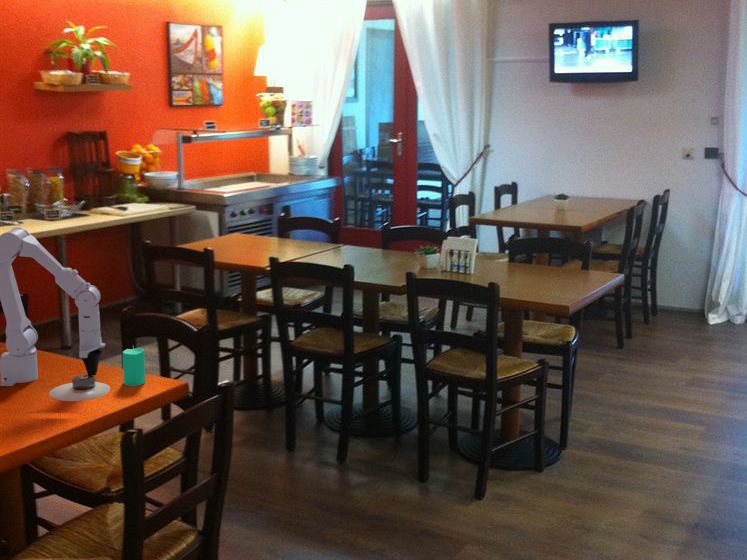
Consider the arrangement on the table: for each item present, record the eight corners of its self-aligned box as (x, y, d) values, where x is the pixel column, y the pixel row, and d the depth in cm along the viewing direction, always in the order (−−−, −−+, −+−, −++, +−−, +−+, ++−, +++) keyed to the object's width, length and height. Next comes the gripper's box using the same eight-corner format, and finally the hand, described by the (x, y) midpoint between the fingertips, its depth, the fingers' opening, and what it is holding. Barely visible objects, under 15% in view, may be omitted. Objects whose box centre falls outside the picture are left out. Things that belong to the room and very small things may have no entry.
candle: (148, 383, 258) (147, 343, 255) (141, 390, 252) (139, 349, 249) (128, 382, 258) (126, 342, 256) (120, 389, 253) (118, 348, 250)
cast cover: (69, 390, 248) (69, 379, 247) (76, 383, 253) (76, 372, 253) (91, 390, 248) (90, 380, 247) (97, 383, 253) (97, 373, 253)
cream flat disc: (40, 404, 239) (40, 400, 239) (61, 385, 255) (60, 381, 255) (100, 405, 240) (100, 401, 239) (117, 385, 255) (117, 381, 255)
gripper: (96, 336, 248) (98, 383, 251) (111, 322, 262) (113, 367, 265) (70, 335, 248) (73, 382, 251) (86, 322, 262) (89, 366, 265)
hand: (92, 374), depth 258 cm, fingers closed
